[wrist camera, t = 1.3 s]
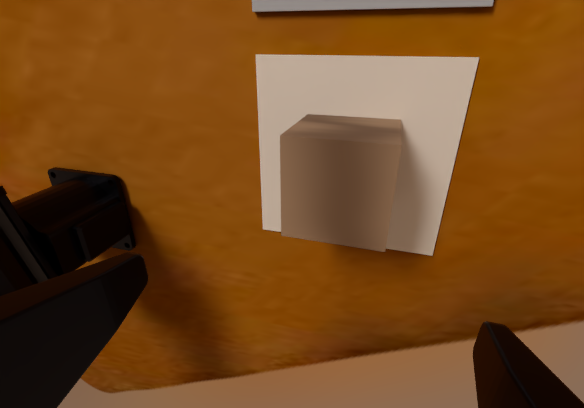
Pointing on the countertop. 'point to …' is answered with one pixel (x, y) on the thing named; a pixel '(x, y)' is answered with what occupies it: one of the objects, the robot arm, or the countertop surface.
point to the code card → (373, 104)
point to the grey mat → (360, 4)
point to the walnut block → (339, 179)
